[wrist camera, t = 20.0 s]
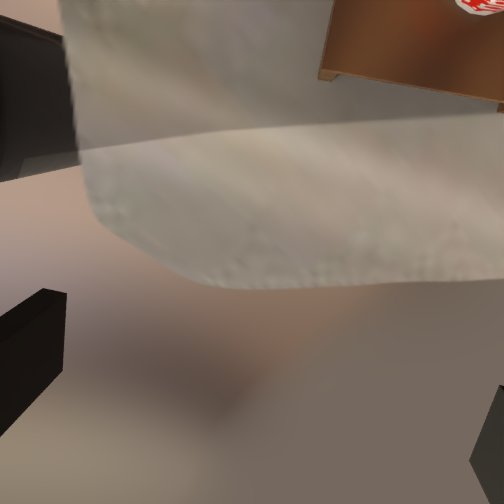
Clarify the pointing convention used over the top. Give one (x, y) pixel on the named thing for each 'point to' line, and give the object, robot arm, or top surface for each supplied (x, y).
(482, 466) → the robot arm
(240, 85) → the top surface
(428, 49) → the shelf
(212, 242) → the top surface
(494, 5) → the beverage cup
